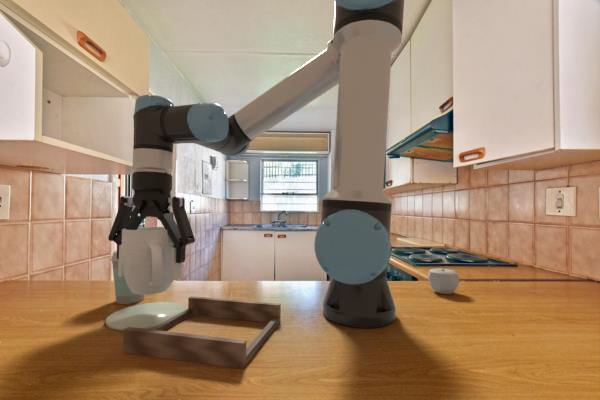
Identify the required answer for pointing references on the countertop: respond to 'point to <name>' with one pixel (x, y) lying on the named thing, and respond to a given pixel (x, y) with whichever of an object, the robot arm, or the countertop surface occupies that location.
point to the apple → (443, 280)
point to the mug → (146, 259)
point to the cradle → (199, 345)
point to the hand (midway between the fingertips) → (149, 277)
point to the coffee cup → (123, 286)
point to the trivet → (144, 315)
